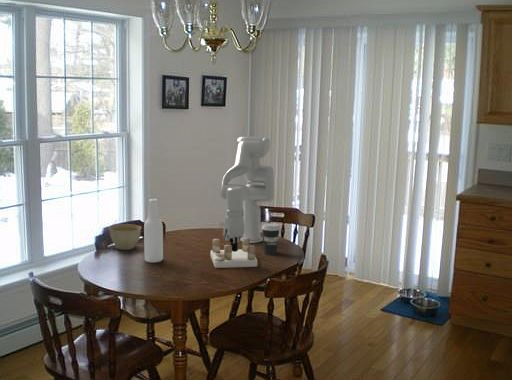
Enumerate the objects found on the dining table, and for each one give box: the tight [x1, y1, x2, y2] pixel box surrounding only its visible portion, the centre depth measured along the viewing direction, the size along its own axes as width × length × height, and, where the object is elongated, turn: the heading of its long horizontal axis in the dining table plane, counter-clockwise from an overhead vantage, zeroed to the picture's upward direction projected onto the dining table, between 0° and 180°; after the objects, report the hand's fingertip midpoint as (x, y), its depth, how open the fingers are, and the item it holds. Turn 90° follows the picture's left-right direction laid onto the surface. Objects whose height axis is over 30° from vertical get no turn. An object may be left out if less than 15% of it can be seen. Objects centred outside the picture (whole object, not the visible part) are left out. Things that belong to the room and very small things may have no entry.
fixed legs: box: [212, 238, 256, 260], centre depth 285 cm, size 19×19×6 cm
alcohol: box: [143, 198, 164, 264], centre depth 282 cm, size 9×9×30 cm
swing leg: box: [216, 244, 232, 259], centre depth 281 cm, size 10×4×6 cm, turn 43°
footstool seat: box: [210, 248, 258, 269], centre depth 286 cm, size 20×20×3 cm
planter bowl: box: [109, 223, 142, 251], centre depth 306 cm, size 16×16×11 cm
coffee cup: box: [261, 222, 281, 256], centre depth 300 cm, size 10×10×15 cm
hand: (234, 250), depth 281 cm, fingers closed
